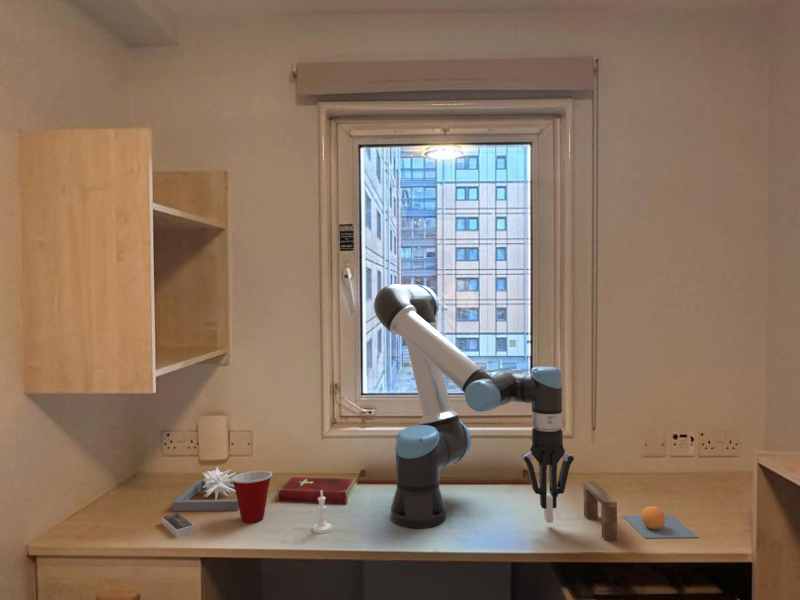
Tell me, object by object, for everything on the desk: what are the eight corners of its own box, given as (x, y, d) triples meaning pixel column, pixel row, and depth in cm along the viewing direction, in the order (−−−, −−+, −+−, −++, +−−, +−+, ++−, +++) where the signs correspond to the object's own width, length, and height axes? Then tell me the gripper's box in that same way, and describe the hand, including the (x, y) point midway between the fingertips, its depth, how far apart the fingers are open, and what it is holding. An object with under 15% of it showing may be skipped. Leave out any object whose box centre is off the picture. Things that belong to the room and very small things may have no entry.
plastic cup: (270, 508, 148) (269, 466, 148) (275, 523, 138) (275, 477, 138) (230, 514, 144) (229, 471, 144) (232, 530, 134) (232, 483, 134)
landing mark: (645, 538, 126) (645, 537, 126) (622, 516, 139) (622, 515, 139) (698, 537, 126) (698, 536, 126) (671, 515, 139) (671, 514, 139)
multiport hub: (176, 539, 131) (176, 530, 131) (161, 525, 139) (161, 517, 139) (194, 533, 134) (194, 524, 134) (178, 520, 142) (178, 512, 142)
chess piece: (313, 534, 131) (313, 494, 131) (311, 526, 136) (310, 488, 136) (333, 531, 132) (332, 492, 132) (330, 523, 137) (329, 486, 137)
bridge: (604, 540, 125) (604, 502, 125) (584, 515, 140) (583, 481, 140) (617, 540, 125) (616, 502, 125) (595, 515, 140) (594, 481, 140)
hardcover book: (347, 506, 150) (346, 491, 150) (277, 503, 153) (277, 488, 153) (356, 491, 162) (356, 477, 162) (291, 488, 165) (291, 475, 165)
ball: (673, 524, 128) (655, 537, 129) (664, 516, 134) (646, 528, 134) (659, 506, 129) (641, 519, 129) (650, 498, 134) (633, 511, 134)
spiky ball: (239, 490, 166) (239, 463, 167) (243, 499, 155) (243, 470, 156) (201, 495, 161) (201, 467, 162) (202, 505, 150) (202, 474, 151)
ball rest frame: (172, 511, 147) (172, 502, 147) (198, 487, 166) (198, 479, 166) (238, 510, 147) (238, 501, 147) (256, 486, 166) (256, 478, 166)
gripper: (525, 432, 129) (526, 527, 129) (577, 431, 129) (579, 526, 129) (518, 424, 137) (519, 514, 137) (568, 424, 137) (569, 514, 137)
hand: (548, 520), depth 133 cm, fingers closed
